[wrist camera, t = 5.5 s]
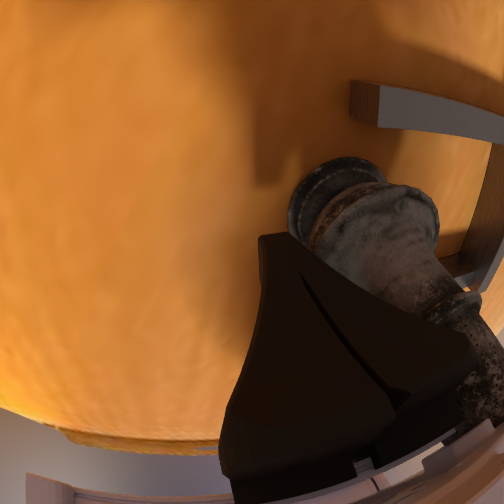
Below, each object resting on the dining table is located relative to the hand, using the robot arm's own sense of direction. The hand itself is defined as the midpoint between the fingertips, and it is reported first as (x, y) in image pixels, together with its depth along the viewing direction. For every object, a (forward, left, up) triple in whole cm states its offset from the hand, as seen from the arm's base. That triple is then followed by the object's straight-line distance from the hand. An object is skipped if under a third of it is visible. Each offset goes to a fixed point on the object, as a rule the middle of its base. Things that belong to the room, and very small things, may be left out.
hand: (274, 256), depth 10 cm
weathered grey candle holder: (0, -4, -3) cm, 5 cm away
